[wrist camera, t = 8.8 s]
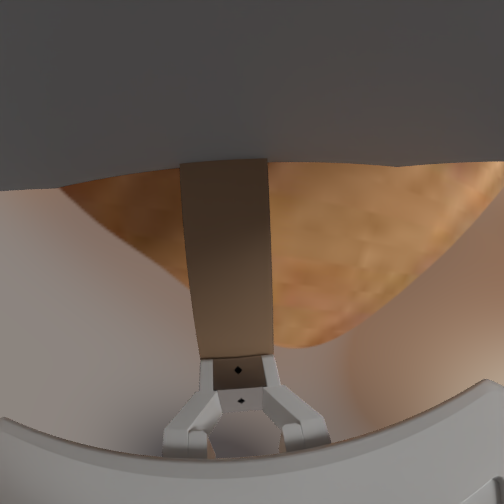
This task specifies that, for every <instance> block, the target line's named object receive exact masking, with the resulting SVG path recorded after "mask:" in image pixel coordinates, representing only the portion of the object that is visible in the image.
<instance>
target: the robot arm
mask: <svg viewBox="0 0 504 504" xmlns="http://www.w3.org/2000/svg"><path fill="white" fill-rule="evenodd" d="M199 381H200V382H199V391H198V392H195V393H194V395H192V397H191V398H190V399H189V400H188V402H187V403H186V404H185V405H184V406H183V408H182V409H181V410H180V411H179V412H178V414H177V415H176V416H175V417H174V418H173V419H172V421H171V422H170V423H169V424H168V425H167V427H166V428H165V429H164V438H163V450H162V457H156V456H146V455H137V454H130V453H124V452H118V451H111V450H107V449H102V448H97V447H93V446H88V445H84V444H80V443H76V442H73V441H69V440H66V439H62V438H59V437H56V436H53V435H50V434H47V433H44V432H41V431H38V430H35V429H33V428H30V427H27V426H25V425H23V424H20V423H18V422H15V421H13V420H11V419H9V418H6V417H2V418H0V504H504V386H502V385H500V384H498V383H496V382H494V381H491V380H488V379H484V380H481V381H480V382H478V383H476V384H475V385H473V386H471V387H470V388H468V389H466V390H464V391H463V392H461V393H459V394H457V395H456V396H454V397H452V398H450V399H448V400H446V401H444V402H442V403H440V404H438V405H436V406H434V407H432V408H430V409H428V410H426V411H424V412H421V413H419V414H417V415H415V416H412V417H410V418H408V419H405V420H403V421H400V422H398V423H395V424H393V425H390V426H387V427H384V428H381V429H379V430H376V431H373V432H370V433H366V434H364V435H360V436H357V437H353V438H350V439H347V440H343V441H339V442H335V443H331V440H330V437H329V433H328V430H327V427H326V424H325V420H324V417H323V416H322V415H320V414H319V413H318V412H317V411H315V410H314V409H313V408H312V407H310V406H309V405H308V404H307V403H306V402H304V401H303V400H302V399H301V398H299V397H298V396H297V395H296V394H295V393H294V392H292V391H291V390H290V389H289V388H288V387H286V386H285V385H281V383H280V379H279V374H278V370H277V365H276V361H275V356H274V355H273V354H271V355H262V356H261V355H260V356H251V357H240V358H230V359H203V360H201V362H200V379H199ZM256 410H263V412H264V413H265V414H266V415H267V416H268V417H269V418H270V419H271V420H272V421H273V422H274V423H275V425H276V426H277V427H278V428H279V429H280V430H281V438H280V443H279V448H278V449H279V453H278V454H271V455H263V456H253V457H240V458H219V459H216V456H215V452H214V450H213V448H212V446H211V443H210V441H209V438H208V437H209V435H210V434H211V432H212V431H213V429H214V427H215V426H216V424H217V423H218V421H219V419H220V418H221V416H222V413H229V412H241V411H256Z"/></svg>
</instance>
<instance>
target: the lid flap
mask: <svg viewBox="0 0 504 504" xmlns="http://www.w3.org/2000/svg"><path fill="white" fill-rule="evenodd" d="M488 161H504V0H0V191H9V190H25V189H49V188H59V187H63V186H68V185H72V184H77V183H82V182H87V181H92V180H97V179H103V178H108V177H114V176H121V175H127V174H134V173H141V172H148V171H156V170H164V169H173V168H180V184H181V201H182V215H183V227H184V239H185V249H186V259H187V268H188V277H189V285H190V293H191V301H192V308H193V315H194V322H195V329H196V335H197V342H198V347H199V354H200V360H203V359H230V358H240V357H251V356H260V355H261V356H262V355H271V354H273V355H274V345H273V296H272V262H271V233H270V208H269V186H268V165H267V162H330V163H353V164H369V165H382V166H394V167H401V166H412V165H425V164H439V163H457V162H488Z"/></svg>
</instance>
